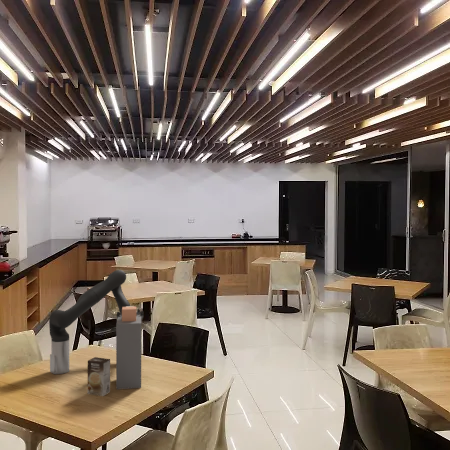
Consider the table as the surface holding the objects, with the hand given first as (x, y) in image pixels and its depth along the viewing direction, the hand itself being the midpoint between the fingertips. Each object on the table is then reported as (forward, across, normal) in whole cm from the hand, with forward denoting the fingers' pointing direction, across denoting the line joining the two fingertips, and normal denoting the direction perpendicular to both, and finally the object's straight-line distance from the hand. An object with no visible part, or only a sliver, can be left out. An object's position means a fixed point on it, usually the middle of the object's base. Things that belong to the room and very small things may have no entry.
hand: (130, 310), depth 255 cm
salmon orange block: (+4, 0, +5) cm, 7 cm away
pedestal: (-6, 0, +36) cm, 37 cm away
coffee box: (+4, -14, +42) cm, 45 cm away
